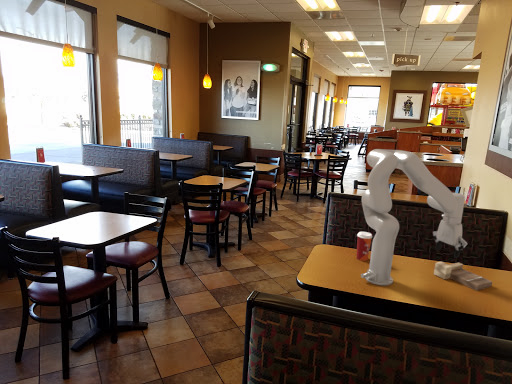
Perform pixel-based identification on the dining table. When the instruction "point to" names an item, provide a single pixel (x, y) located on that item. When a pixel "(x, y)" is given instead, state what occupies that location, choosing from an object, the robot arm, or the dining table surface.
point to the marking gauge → (446, 269)
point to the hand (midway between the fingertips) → (446, 253)
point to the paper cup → (363, 245)
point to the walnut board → (470, 279)
